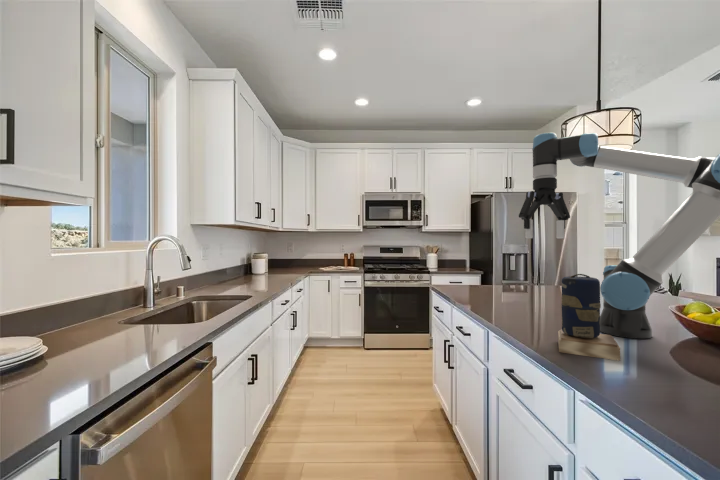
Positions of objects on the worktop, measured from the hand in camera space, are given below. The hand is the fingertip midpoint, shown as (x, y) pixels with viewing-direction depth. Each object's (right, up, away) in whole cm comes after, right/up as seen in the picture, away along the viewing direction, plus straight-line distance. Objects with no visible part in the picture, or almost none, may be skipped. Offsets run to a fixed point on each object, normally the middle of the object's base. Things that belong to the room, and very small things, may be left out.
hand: (544, 238), depth 123 cm
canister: (-1, -29, -22) cm, 36 cm away
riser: (0, -32, -22) cm, 39 cm away
